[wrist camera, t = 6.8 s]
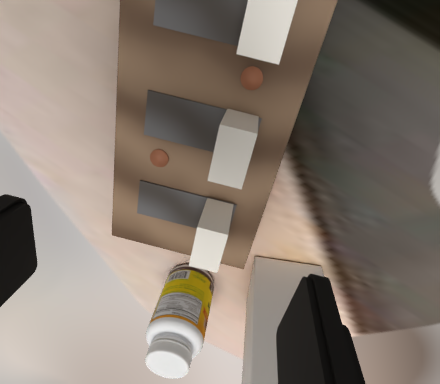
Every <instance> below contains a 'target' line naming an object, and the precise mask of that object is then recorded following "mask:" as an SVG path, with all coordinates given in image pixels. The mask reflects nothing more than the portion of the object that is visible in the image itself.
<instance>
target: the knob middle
mask: <svg viewBox="0 0 440 384" xmlns="http://www.w3.org/2000/svg"><path fill="white" fill-rule="evenodd" d="M258 119H259V116H255V115H251V114H247V113H244V112H240V111H236V110H232V109H227V111H226V113H225V115H224V117H223V119H222V121H221V123H220V125H219V130H218V134H217V139H216V144H215V148H214V153H213V157H212V162H211V166H210V171H209V176H208V180H207V181H210V182H214V183H218V184H222V185H226V186H230V187H233V188H237V189H241V190H242V186H243V183H244V179H245V176H246V172H247V169H248V166H249V162H250V159H251V155H252V152H253V148H254V145H255V141H256V138H257V135H258Z"/></svg>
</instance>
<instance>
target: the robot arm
mask: <svg viewBox="0 0 440 384" xmlns="http://www.w3.org/2000/svg"><path fill="white" fill-rule="evenodd" d="M36 267H37V256H36V248H35V240H34V233H33V224H32V216H31V208H30V206H29V205H28V204H27V202H26V200H25V199H22V198H19V197H14V196H11V195H2V196H0V307H1V306H2V305H3V304H4V303H5V301H7V300H8V299H9V298H10V297H11V296H12V295H13V294H14V293H15V292H16V291H17V290H18V289H19V288H20V287H21V285H23V284H24V283H25V282H26V281H27V279H28V278H29V277H30V276H31V275H32V274H33V273H34V272H35V270H36ZM276 349H277V372H278V384H365V381H364V377H363V374H362V371H361V367H360V364H359V361H358V358H357V354H356V351H355V347H354V344H353V341H352V338H351V334H350V332H349V329H348V328H347V327H346V326H345V325H342V322H341V319H340V315H339V311H338V308H337V304H336V301H335V297H334V294H333V290H332V287H331V283H330V280H329V279H328V278H326V277H323V276H319V275H315V274H309V275H308V277H305V276H303V277H302V279H301V281H300V283H299V285H298V287H297V289H296V291H295V293H294V295H293V297H292V299H291V301H290V303H289V305H288V307H287V309H286V311H285V314H284V316H283V318H282V320H281V322H280V324H279V326H278V328H277V333H276Z"/></svg>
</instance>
